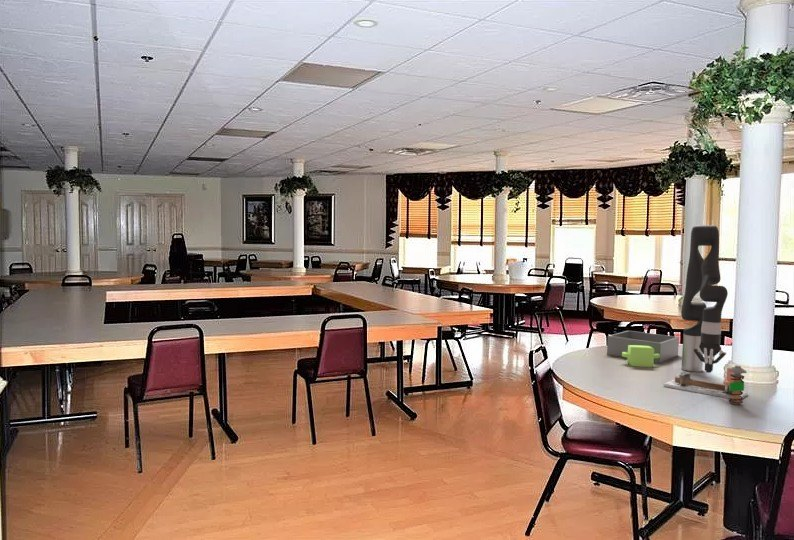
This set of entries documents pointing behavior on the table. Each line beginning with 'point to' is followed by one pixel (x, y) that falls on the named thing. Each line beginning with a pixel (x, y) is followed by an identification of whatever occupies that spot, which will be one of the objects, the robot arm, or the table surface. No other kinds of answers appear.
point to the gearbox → (640, 355)
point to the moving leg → (728, 378)
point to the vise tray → (643, 344)
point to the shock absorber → (736, 384)
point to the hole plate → (701, 389)
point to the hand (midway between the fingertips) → (708, 372)
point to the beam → (698, 382)
